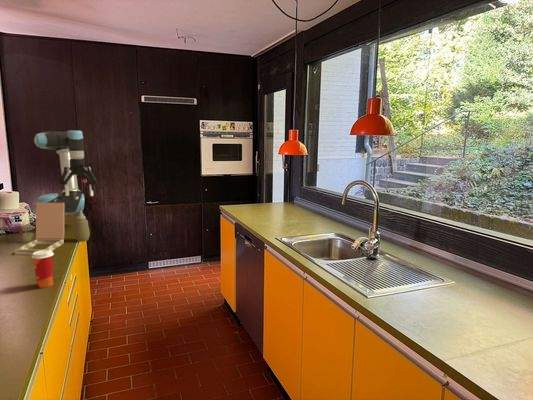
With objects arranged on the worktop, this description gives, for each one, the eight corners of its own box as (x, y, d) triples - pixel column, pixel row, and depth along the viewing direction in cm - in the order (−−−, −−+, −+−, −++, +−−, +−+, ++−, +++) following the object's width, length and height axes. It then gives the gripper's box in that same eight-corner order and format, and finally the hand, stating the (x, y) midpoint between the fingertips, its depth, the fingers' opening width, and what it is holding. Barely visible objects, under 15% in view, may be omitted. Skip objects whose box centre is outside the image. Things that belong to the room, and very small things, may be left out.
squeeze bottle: (84, 243, 212) (82, 212, 209) (71, 242, 214) (69, 211, 211) (93, 239, 220) (91, 209, 217) (81, 238, 222) (79, 208, 219)
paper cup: (40, 281, 156) (37, 249, 153) (59, 281, 156) (56, 249, 154) (30, 289, 148) (27, 255, 146) (50, 288, 149) (47, 255, 146)
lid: (35, 238, 209) (37, 238, 211) (63, 238, 210) (64, 238, 212) (36, 202, 209) (37, 202, 211) (63, 202, 210) (64, 202, 212)
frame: (36, 243, 210) (35, 239, 209) (63, 243, 211) (63, 239, 210) (14, 254, 190) (14, 250, 190) (45, 254, 191) (44, 249, 191)
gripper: (50, 158, 205) (53, 196, 208) (97, 158, 206) (99, 196, 210) (57, 157, 212) (60, 194, 216) (102, 158, 214) (104, 194, 217)
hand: (79, 195), depth 213 cm, fingers open, 13 cm apart
